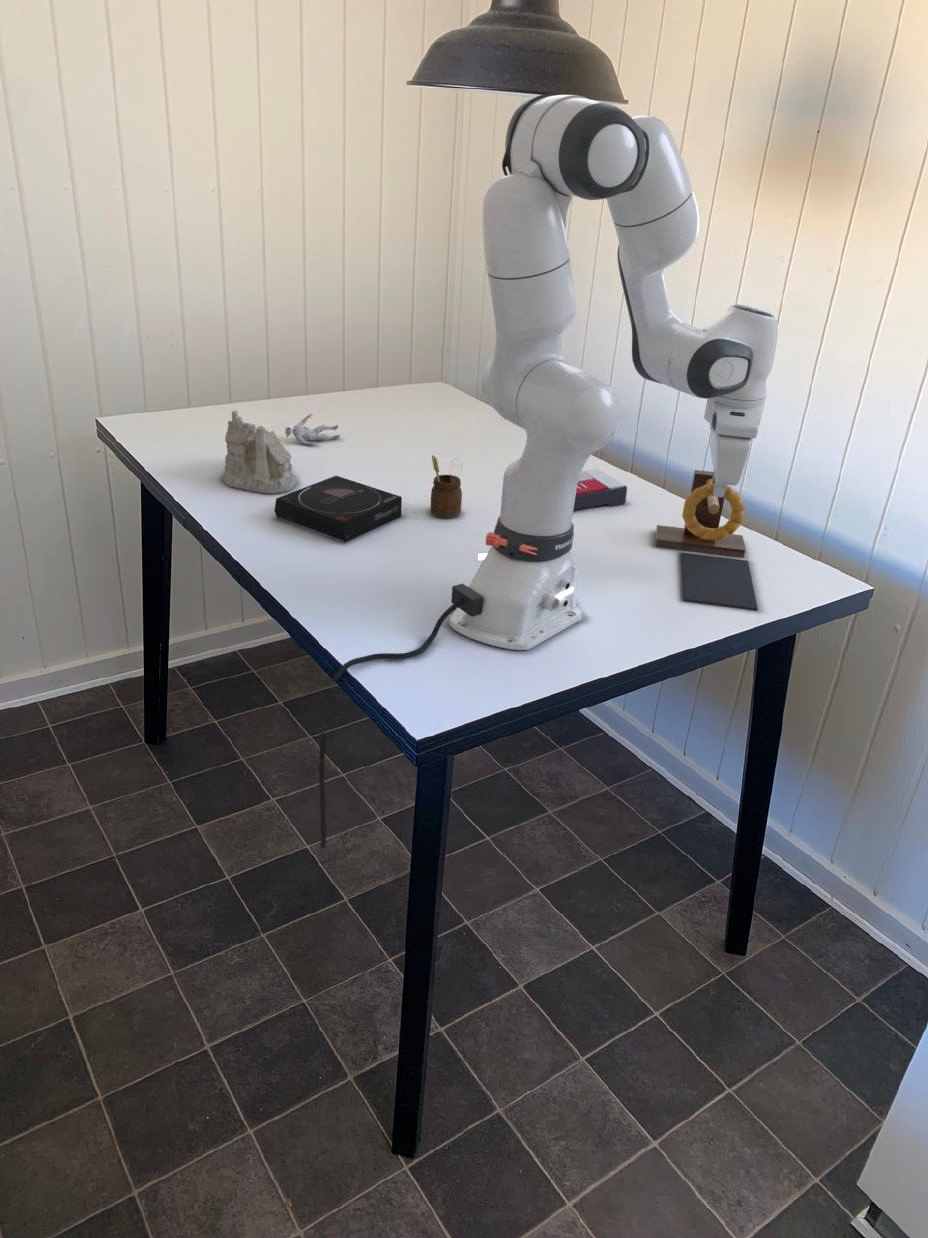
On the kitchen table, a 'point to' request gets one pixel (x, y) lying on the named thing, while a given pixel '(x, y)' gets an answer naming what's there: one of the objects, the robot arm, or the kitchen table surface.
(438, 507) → the utensil holder
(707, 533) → the ring
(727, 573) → the mat
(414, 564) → the kitchen table surface
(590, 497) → the calculator
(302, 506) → the portable cd player
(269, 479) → the ceramic cottage
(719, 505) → the rack
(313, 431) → the soldier figure
